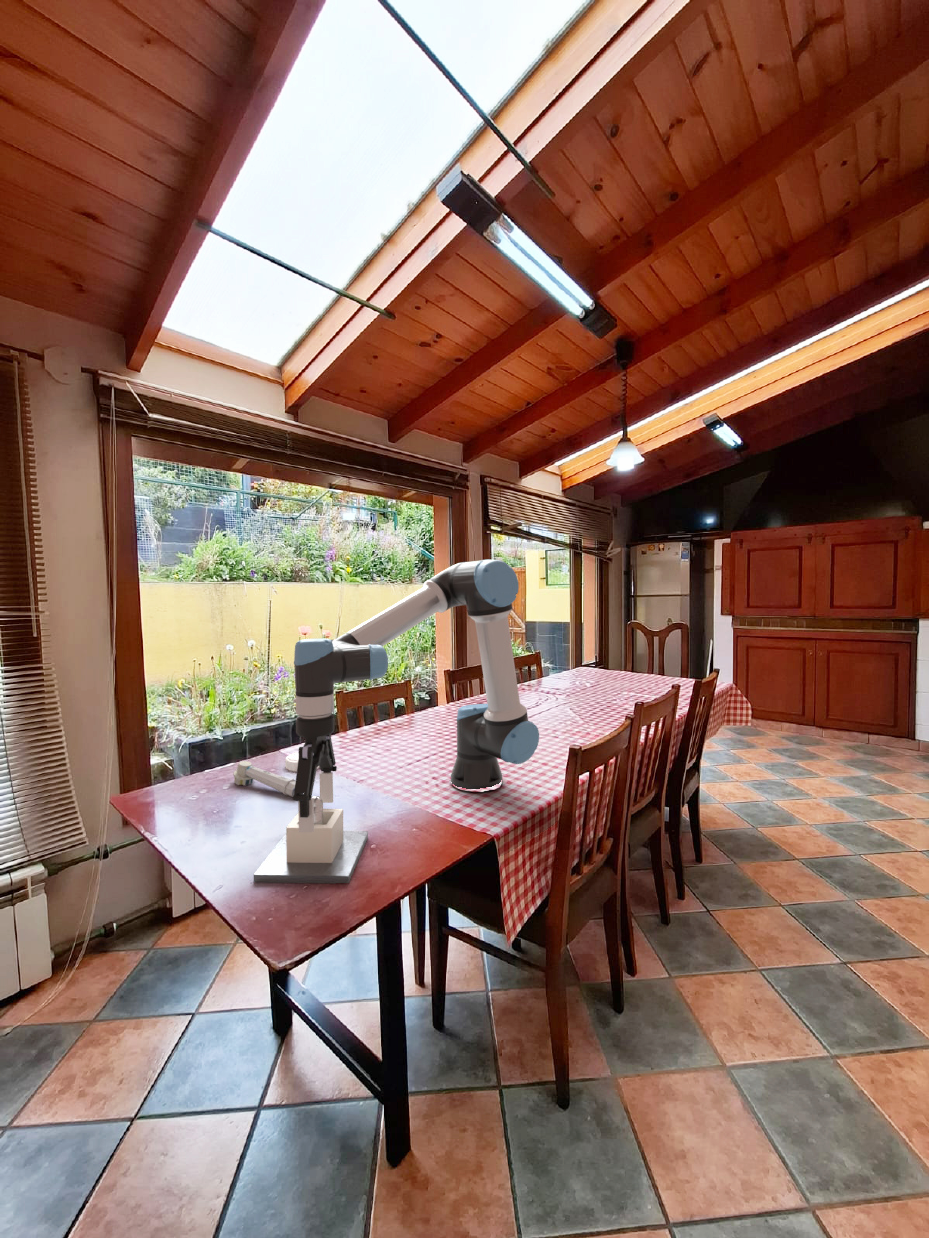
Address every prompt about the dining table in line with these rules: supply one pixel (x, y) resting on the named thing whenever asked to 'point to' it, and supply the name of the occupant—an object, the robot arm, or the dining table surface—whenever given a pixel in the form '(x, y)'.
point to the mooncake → (292, 762)
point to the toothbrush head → (263, 778)
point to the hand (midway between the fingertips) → (317, 815)
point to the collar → (315, 839)
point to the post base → (293, 872)
